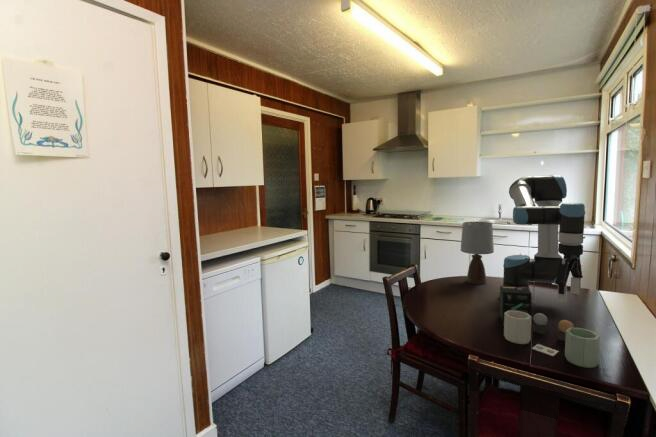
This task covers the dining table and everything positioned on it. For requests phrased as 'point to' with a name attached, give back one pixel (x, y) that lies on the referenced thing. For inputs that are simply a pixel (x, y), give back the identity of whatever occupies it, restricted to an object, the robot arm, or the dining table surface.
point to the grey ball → (540, 319)
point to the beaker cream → (517, 327)
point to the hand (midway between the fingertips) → (568, 297)
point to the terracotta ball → (565, 325)
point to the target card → (545, 350)
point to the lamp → (477, 248)
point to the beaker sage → (582, 347)
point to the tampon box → (514, 300)
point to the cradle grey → (539, 328)
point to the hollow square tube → (561, 336)
